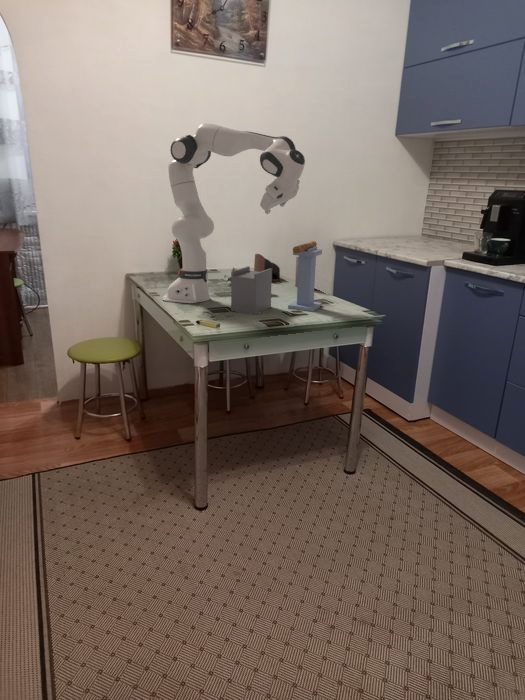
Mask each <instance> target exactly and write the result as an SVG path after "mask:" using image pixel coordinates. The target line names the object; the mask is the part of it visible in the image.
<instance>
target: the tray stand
mask: <svg viewBox="0 0 525 700" xmlns="http://www.w3.org/2000/svg"><path fill="white" fill-rule="evenodd" d="M230 273H231V275H230V277H231V282H230V283H231V285H230V286H231V287H230V291H231V292H230V299H231V301H230V304H231V305H230V306H231V307H230V309H231V312H233V311H237V312H236V313H241V312H244V313H243V314H248V313H251V314H250V315H255V314H256V315H257V313H258V314H260V313H261V312H264V311H265V309H266V310H268V309H269V308H271V307H272V284H273V283H272V282H273V281H272V269H271V268H270V269H267V270H264V271H261V272H256V271H254V270H251V268H250V266H249V265H248V266H245V267H241V268H238V269H237V270H235V271H231V272H230ZM267 308H268V309H267ZM263 310H264V311H263ZM259 312H260V313H259Z"/></svg>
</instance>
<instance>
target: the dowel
mask: <svg viewBox="0 0 525 700" xmlns="http://www.w3.org/2000/svg"><path fill="white" fill-rule="evenodd" d="M317 245H318V244H317V242H316V241H315V240H312V241H309V242H306V243H302V244H299V245H296V246H293V248H292V253H293V252H294V253H295V254H297V253H300V252H303V251H306V250H308V249H310V248H313V247H318V246H317Z"/></svg>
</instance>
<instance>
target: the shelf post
mask: <svg viewBox="0 0 525 700" xmlns="http://www.w3.org/2000/svg"><path fill="white" fill-rule="evenodd" d="M322 254H323V249H321V248H320V249H319V248H318V246H316V247H313V248H310V249H308V250H306V251H303V252H300V253H297V254H295V253H294V252H293V251H292V255H293V256H298V257H299V262H298V285H297V287H296V288H297V291H296V300H294V301H293V302H291V303H290V304H288V305H287V309H289V308H291V310H297V309H299V310H298V311H304V310H306V312H312V311H313V312H315V311H317V310H318V309H319V308H320V306H321V307H322V305H323V303H322V302H318V301H315V300H314V299H315V284H316V283H315V282H316V281H315V280H316V268H317V267H316V264H317V263H316V262H317V256H321V255H322ZM317 308H318V309H317Z"/></svg>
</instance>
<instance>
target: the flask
mask: <svg viewBox="0 0 525 700" xmlns="http://www.w3.org/2000/svg"><path fill="white" fill-rule="evenodd" d="M298 262H299V256H296V259H295V285H294V286H295V287H296V288H297V285H298Z"/></svg>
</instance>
